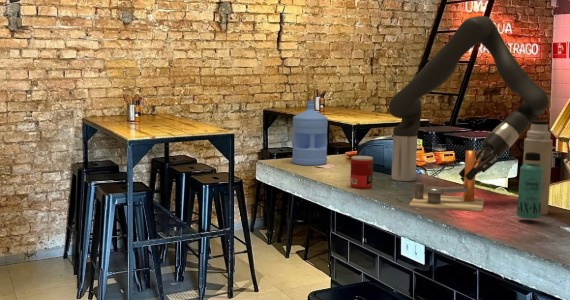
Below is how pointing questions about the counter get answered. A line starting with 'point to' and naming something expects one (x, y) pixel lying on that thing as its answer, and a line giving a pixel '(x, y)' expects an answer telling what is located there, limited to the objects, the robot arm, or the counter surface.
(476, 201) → the hub board
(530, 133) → the thermos bottle
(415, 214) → the counter surface
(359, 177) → the canned food
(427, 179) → the counter surface
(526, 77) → the robot arm
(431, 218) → the counter surface
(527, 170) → the beverage bottle
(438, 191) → the lever
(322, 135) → the water jug
